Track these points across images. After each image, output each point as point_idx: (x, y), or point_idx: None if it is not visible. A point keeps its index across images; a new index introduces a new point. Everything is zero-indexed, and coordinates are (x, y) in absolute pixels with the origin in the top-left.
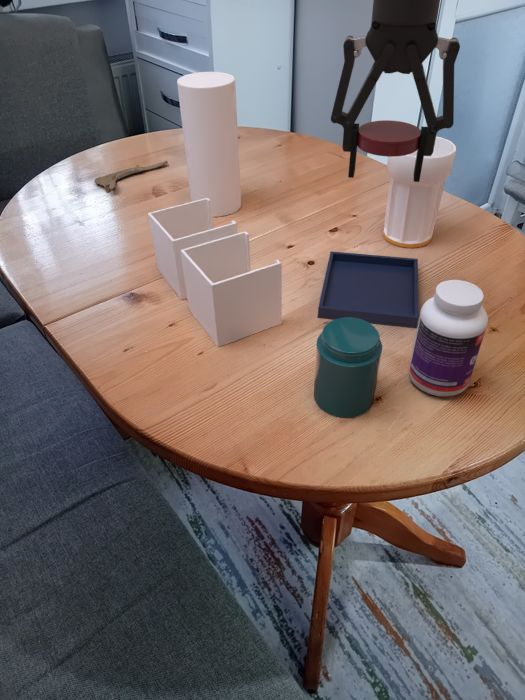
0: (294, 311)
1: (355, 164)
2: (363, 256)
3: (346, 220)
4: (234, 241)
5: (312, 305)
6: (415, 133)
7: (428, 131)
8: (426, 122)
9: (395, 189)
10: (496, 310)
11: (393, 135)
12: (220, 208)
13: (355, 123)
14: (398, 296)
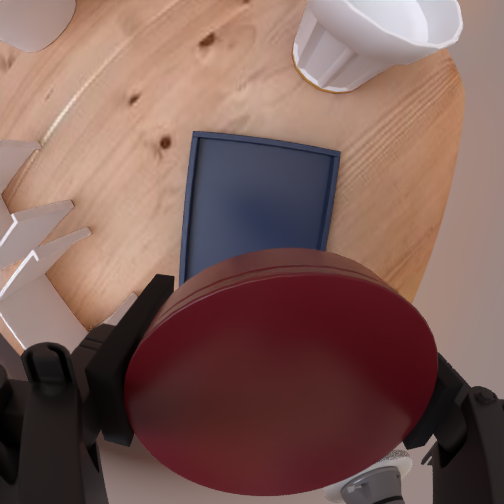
0: (150, 272)
1: (169, 287)
2: (250, 142)
3: (231, 12)
4: (30, 262)
5: (172, 258)
6: (394, 433)
7: (424, 460)
8: (433, 474)
9: (321, 32)
10: (410, 255)
11: (296, 462)
12: (41, 42)
13: (93, 371)
14: (297, 238)
